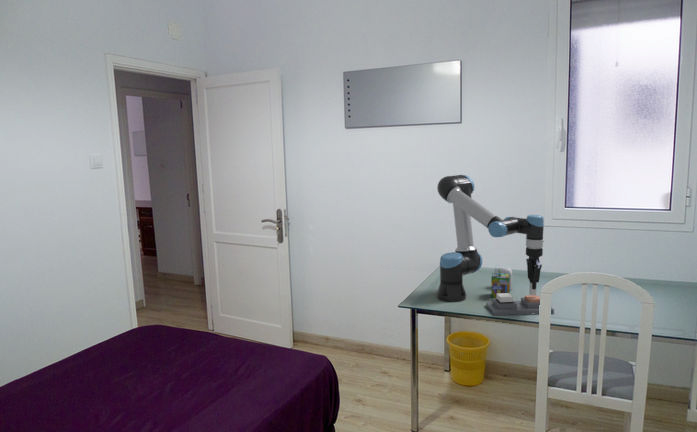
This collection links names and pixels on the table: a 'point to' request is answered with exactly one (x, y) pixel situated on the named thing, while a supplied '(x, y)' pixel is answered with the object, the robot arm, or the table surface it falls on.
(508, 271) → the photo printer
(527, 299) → the terracotta key
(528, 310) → the key panel
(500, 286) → the chalk box
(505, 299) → the white key
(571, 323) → the table surface
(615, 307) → the table surface
